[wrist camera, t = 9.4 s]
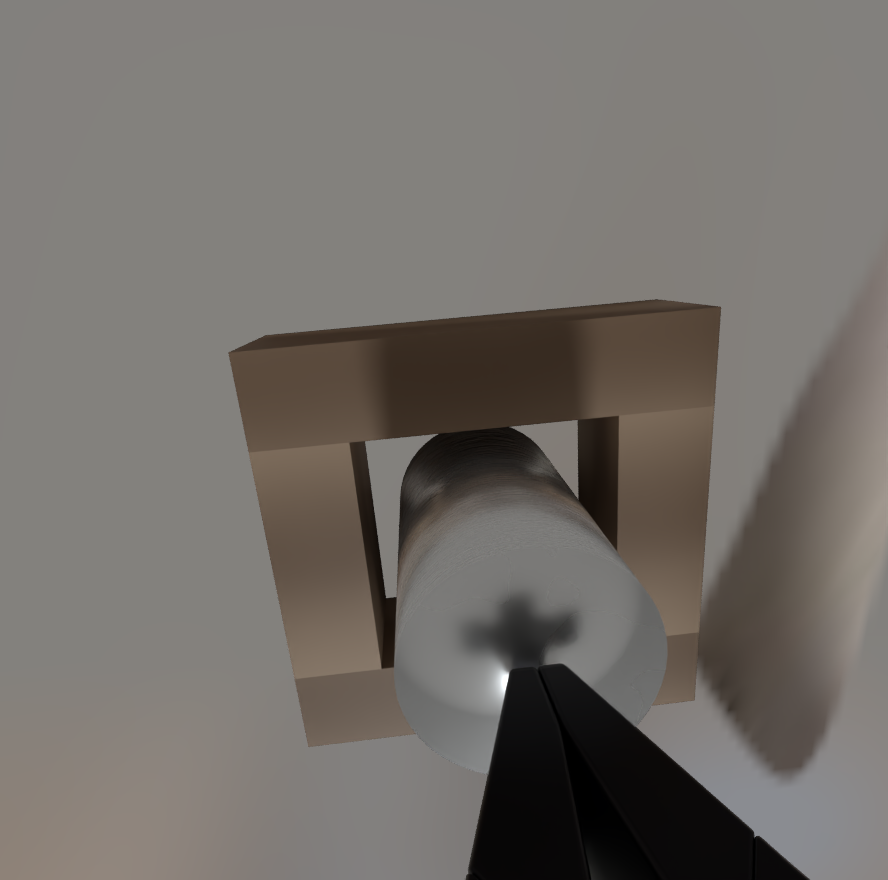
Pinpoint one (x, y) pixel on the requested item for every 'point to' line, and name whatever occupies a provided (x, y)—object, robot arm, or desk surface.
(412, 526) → the metal cylinder
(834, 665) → the desk surface
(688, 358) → the frame
